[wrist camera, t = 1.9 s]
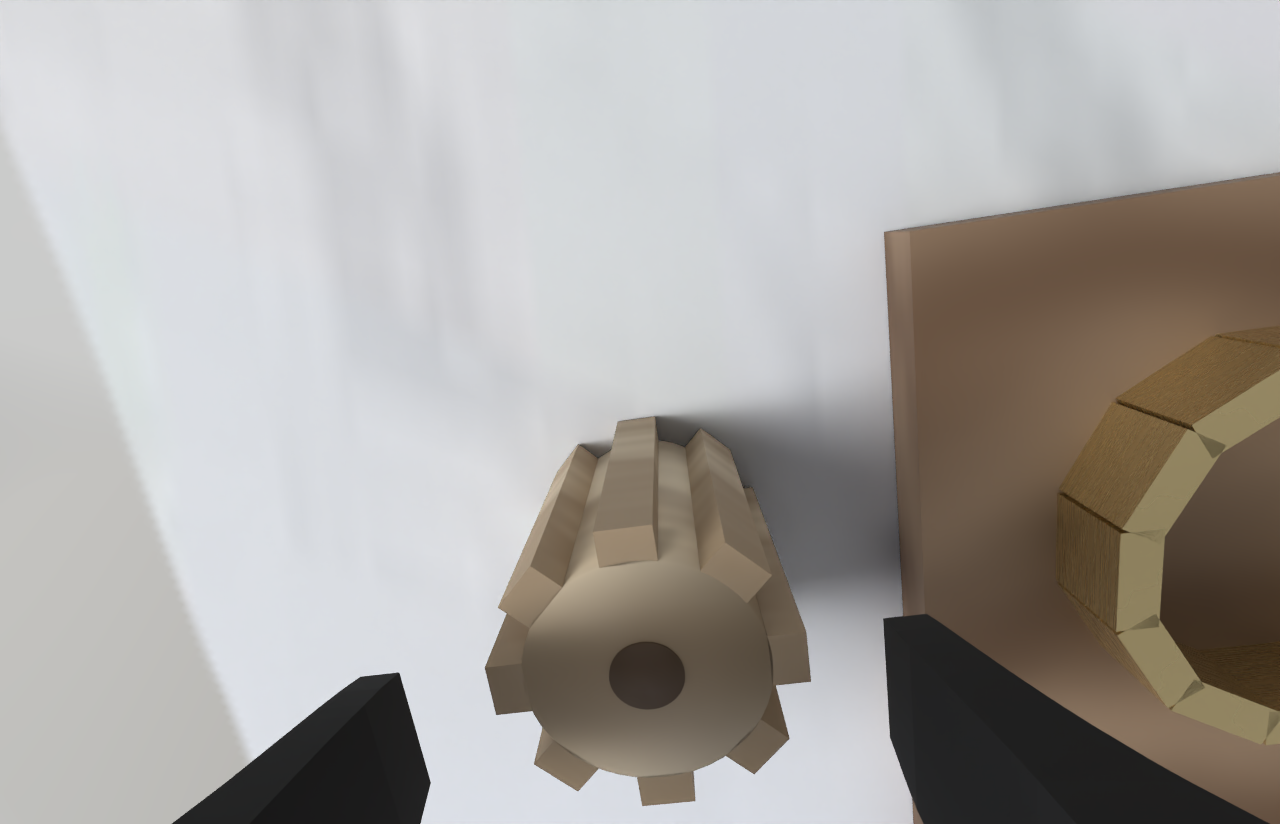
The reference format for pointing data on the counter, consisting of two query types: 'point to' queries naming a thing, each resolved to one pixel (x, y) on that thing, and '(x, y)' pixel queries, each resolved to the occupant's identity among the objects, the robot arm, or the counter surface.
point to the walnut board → (1083, 442)
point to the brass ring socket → (1169, 525)
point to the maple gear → (649, 618)
